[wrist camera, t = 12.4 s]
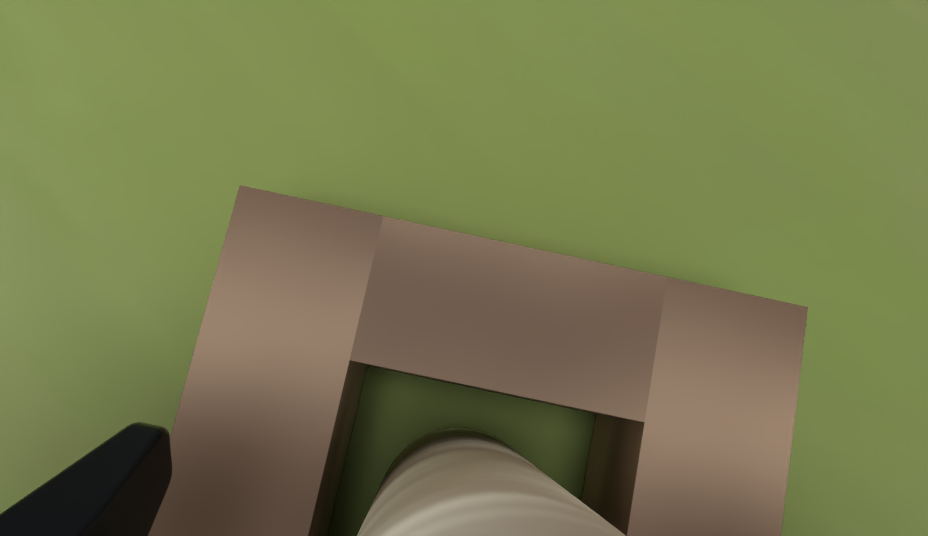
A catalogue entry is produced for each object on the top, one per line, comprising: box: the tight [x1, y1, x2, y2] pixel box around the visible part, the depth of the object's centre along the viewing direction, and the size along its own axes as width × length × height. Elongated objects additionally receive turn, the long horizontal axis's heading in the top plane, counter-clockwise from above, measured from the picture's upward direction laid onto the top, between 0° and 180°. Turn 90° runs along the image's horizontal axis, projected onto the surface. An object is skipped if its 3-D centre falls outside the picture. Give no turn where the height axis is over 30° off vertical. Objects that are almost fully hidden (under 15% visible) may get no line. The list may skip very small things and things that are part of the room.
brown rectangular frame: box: [148, 185, 808, 536], centre depth 15 cm, size 12×12×4 cm
